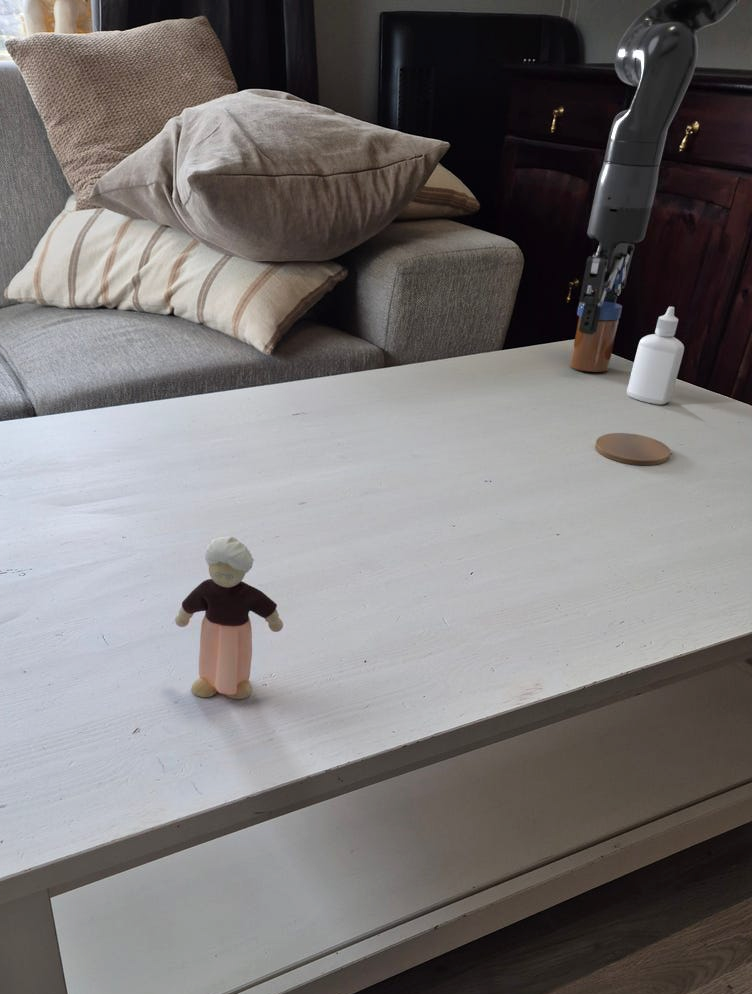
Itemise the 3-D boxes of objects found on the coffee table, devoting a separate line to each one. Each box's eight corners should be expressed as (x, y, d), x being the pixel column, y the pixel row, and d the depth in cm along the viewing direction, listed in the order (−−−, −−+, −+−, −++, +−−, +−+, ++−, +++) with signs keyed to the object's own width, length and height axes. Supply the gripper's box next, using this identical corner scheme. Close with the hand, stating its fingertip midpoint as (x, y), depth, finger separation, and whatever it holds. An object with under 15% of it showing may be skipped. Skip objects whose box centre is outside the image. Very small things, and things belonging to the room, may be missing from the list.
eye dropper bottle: (645, 407, 121) (670, 314, 114) (621, 393, 126) (643, 302, 119) (674, 404, 122) (700, 312, 115) (649, 390, 127) (672, 300, 120)
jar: (588, 361, 137) (600, 302, 133) (616, 369, 133) (629, 309, 129) (561, 364, 135) (573, 304, 131) (589, 373, 131) (601, 312, 127)
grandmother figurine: (178, 706, 67) (171, 553, 60) (177, 675, 70) (171, 526, 63) (282, 701, 68) (288, 550, 61) (277, 671, 71) (282, 523, 64)
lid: (575, 318, 129) (577, 306, 128) (577, 310, 134) (579, 299, 133) (619, 322, 127) (622, 310, 127) (619, 314, 132) (622, 302, 131)
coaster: (645, 435, 113) (647, 431, 113) (683, 463, 106) (685, 458, 106) (582, 439, 111) (583, 434, 111) (616, 467, 105) (617, 462, 104)
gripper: (611, 191, 129) (585, 312, 139) (578, 203, 119) (552, 333, 129) (665, 197, 126) (635, 321, 135) (636, 210, 116) (605, 343, 125)
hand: (595, 327), depth 132 cm, fingers open, 6 cm apart
